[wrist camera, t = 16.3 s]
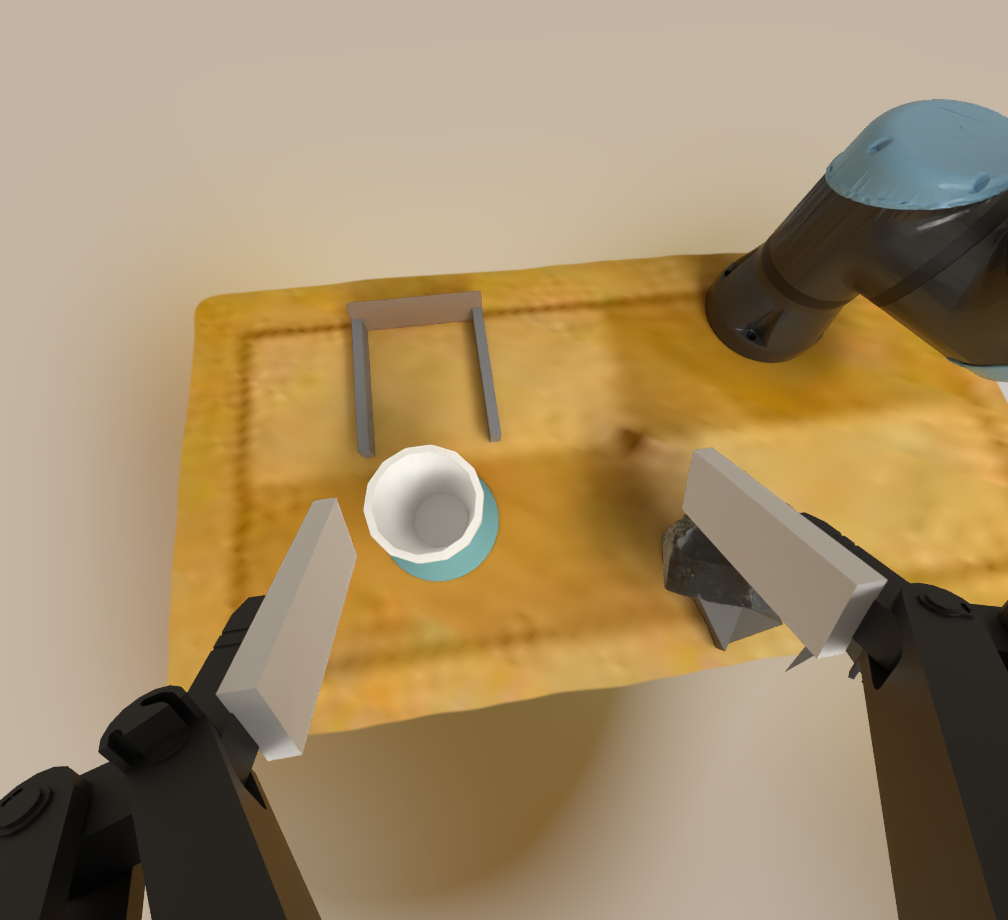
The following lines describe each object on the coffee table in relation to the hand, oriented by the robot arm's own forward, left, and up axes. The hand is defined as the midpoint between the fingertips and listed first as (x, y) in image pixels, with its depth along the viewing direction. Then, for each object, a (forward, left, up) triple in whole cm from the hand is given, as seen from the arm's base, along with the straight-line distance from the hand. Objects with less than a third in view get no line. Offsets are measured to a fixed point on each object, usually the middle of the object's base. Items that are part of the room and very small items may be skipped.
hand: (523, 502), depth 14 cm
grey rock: (-22, +6, -30) cm, 37 cm away
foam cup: (+6, -4, -29) cm, 30 cm away
